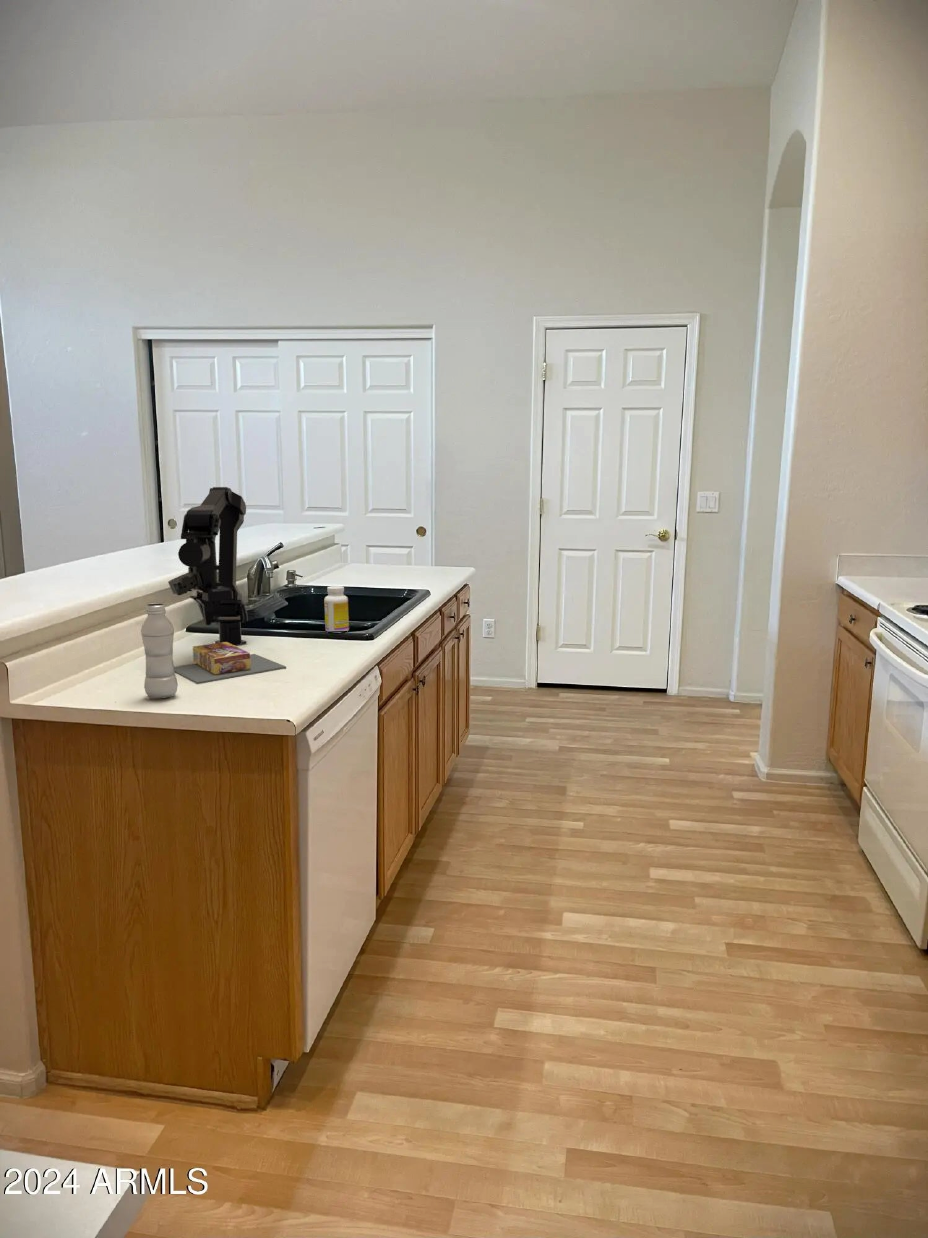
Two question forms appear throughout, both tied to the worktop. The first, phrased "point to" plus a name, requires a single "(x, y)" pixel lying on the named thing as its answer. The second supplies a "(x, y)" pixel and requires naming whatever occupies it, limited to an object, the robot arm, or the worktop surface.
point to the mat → (203, 675)
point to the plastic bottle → (158, 653)
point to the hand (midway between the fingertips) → (208, 624)
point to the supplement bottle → (336, 609)
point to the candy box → (221, 658)
